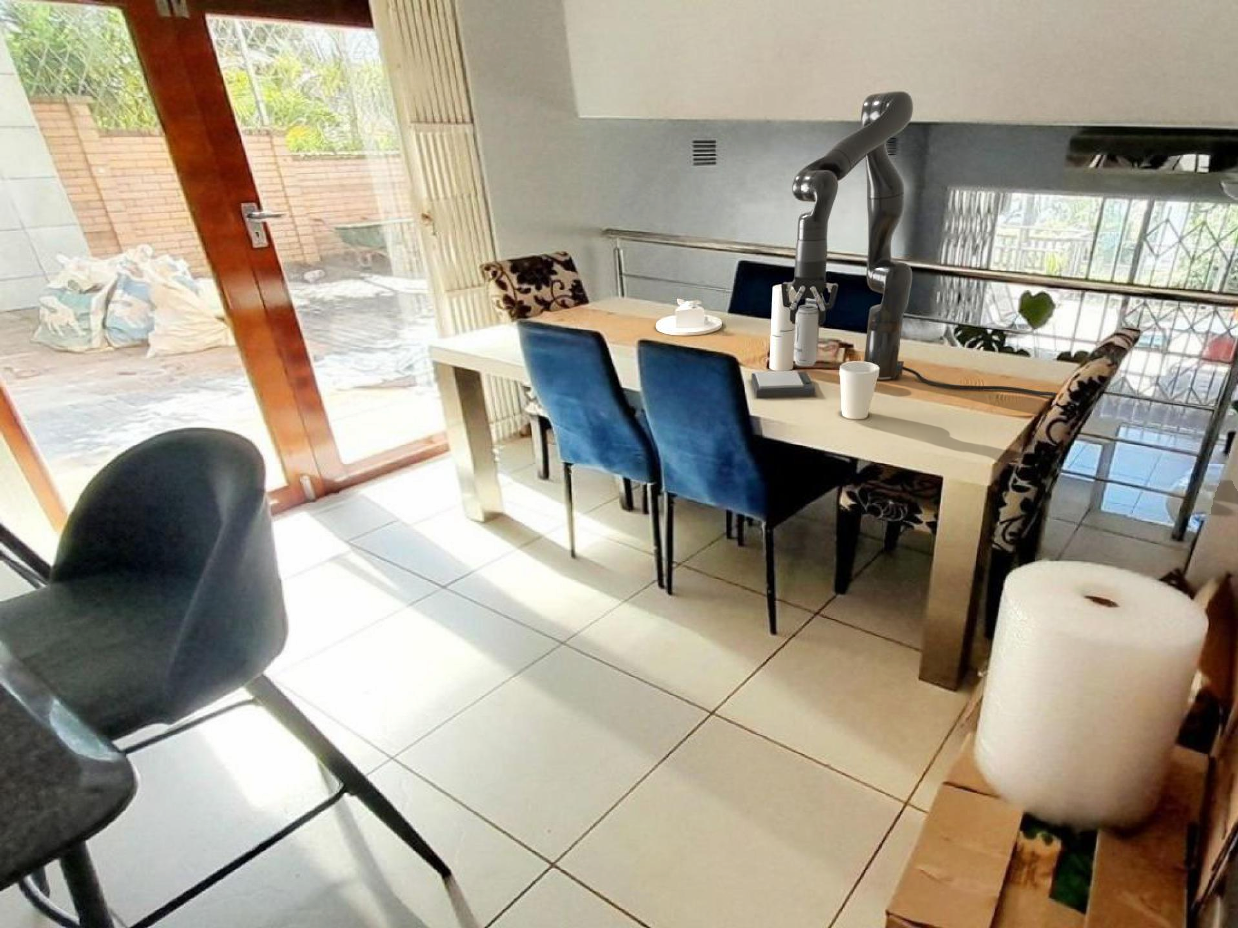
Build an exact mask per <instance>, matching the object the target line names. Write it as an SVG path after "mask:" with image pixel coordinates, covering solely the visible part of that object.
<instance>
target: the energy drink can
mask: <svg viewBox="0 0 1238 928" xmlns="http://www.w3.org/2000/svg"><path fill="white" fill-rule="evenodd" d="M818 308H819V305H815V304H801V305H798V307H797V312H796V317H795V339H794V358H793V362H794V363H795V365H796V366H798V367H799V366H800V367H812V366H814V365H815V364H816V362H817V361H818V351H819V334H820V325H818V323H819V311H820V309H818Z"/></svg>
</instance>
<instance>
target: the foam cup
mask: <svg viewBox="0 0 1238 928" xmlns="http://www.w3.org/2000/svg"><path fill="white" fill-rule="evenodd" d="M878 376H879V367H878V365H876V364H873V363H870V362H864V360H862V361H861V360H854V361H853V360H852V361H846V362H843V363H841V364H840V365H839V381H840V383H839V384H840V403H841V414H842V416H843V417H845V418H847V419H850V420H863V419H865V418H867V417H868V415H869V411H870V408H871V404H872V400H873V396H874V393H875V389H876V385H877V381H878V380H877V378H878Z"/></svg>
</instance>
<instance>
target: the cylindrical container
mask: <svg viewBox="0 0 1238 928" xmlns="http://www.w3.org/2000/svg"><path fill="white" fill-rule="evenodd" d="M781 285H782V284H776V285H773V286H772V297H771V298H772V299H771V300H772V301H771V321H770V322H771V323H770V324H771V325H770V348H769V369H770V370H771V371H792V370H793V369H794V339H795V324H792V322H790V309H789V308H787V307H784V306H783V300H782V290H781ZM796 295H797V293H796V291H795V290H794V288H793V287H791V289H790V291H789V301H790V302H793V300H794V299H795V297H796Z"/></svg>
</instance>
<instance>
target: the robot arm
mask: <svg viewBox="0 0 1238 928" xmlns="http://www.w3.org/2000/svg"><path fill="white" fill-rule="evenodd" d="M913 111H914V103H913V99H912V96H911V95H910V94H909V93H908V92H906V91H903V90H902V91H901V90H897V91H896V90H895V91H887V92H880V93H872V94H870V95H868V96H867V97H866V98H865V99H864V101H863V103H862V106H861V112H860V124H861V128H859V129H857V130H856V131H854V132H852V133H850V134H848V135H846V136H845V137H843V138H842V139H840V140H839V141H838V142H837V143H836V144H835V145H834V146H833V147H831V149H830V150H829V151H827V153H826V154H825V155H823V156H822V157H820V158H817V159H816V160H814V161H813V162H811V163H809V164H807V165H805V166H804V167H803V168H802V169H800V170H799V171H798V172H797V174H796V175H795V177H794V179H793V181H792V184H791V192H792V194H793V196H794V198H795V199H796V200H797V201H800V202H809V203H810V202H811V203H814V204H813V207H812V210H811V211H807V212H803V213H802V214H801V213H800V215H799V216H798V220H797V233H796V235H797V237H796V245H795V256H794V258H795V259H794V278H793V280H792V281H789V282H787V281H784V282H783V283H782V284H780V285H781V290H782V300H783V306H784V307H787V308H789V309H790V322H792V324H795V317H796V312H797V310H798V307H797V306H798V304H799V302H800V300H806V299H809V300H815V302H816V304H817V306H818V308H819V323H818V325H819V326H822V325H823V324H824V323H825V322H826V314H827V310H832V309H833V308H834V307H835V302H836V298H837V294H838V293H837V292H838V288H839V284H838V283H837V282H835V283H830V282H827V278H826V277H827V276H826V274H827V261H828V228H829V219H830V216H831V213H832V209H833V206H834V203H835V200H836V198H837V194H838V189H839V181H841V180H843V179H844V178H845V177H846V176H847V175H848V174H850V172H851V171H852V170H853V169H854V168H856V167H857V165H858V164H859V163H860V162H861V161H863V159H864V158H865V170H866V171H865V172H866V205H867V207H866V208H867V223H868V224H867V225H868V227H867V230H868V232H867V233H868V235H867V239H868V240H867V241H868V242H867V243H868V245H867V246H868V247H867V261H866V282H867V286H868V287H869V289H870V290H871V291H873V292H875V293H879V294H882V299H881V303H880V304H876V305H873V306H871V307H870V309H869V311H868V319H867V320H868V321H867V329H866V339H865V348H864V359H863V361H864V362H870V363H873V364H876V365H878V367H879V376H878V378H877V381H887V380H888V381H889V380H896V377H897V375H900V376H901V375H903V371H905V372H907V373H910V374H913V375H914V376H915V377H916V378H918V380H920V381H921V382H923V383H925V384H928V385H930V386H935V387H942V388H947V389H956V390H997V391H1011V392H1017V393H1019V392H1020V393H1026V394H1031V395H1037V396H1049V397H1055V396H1056V395H1057V394H1059V393H1058V392H1054V391H1040V390H1033V389H1029V388H1023V387H1015V386H1007V385H969V384H968V385H966V384H965V385H962V384H950V383H943V382H936V381H932V380H929V379H928V378H927V379H926V378H925V377H923V376H922V375H921V374H920V373H919V372H917V370H914V369H912V368H909V367H906V366H904V365H905V364H904V363H905V361H904V360H899V356H900V350H901V349H900V347H901V336H902V328H903V320H904V314H905V312H906V311H907V308H908V305H909V301H910V300H909V298H910V293H911V288H912V282H913V271H912V268H911V266H910V265H909V264H908V263H906V262H903V261H898V260H894V259H892V240H893V235H894V233H895V231H896V230H897V228H898V227H899V224H900V222H901V220H902V218H903V215H904V211H905V185H904V180H903V178H902V176H901V174H900V172H899V171H898V169H897V167H896V165H895V164H894V163H893V161H892V160H891V158H890V155H889V153H888V150H887V145H886V142H887V141H888V140H890V139H891V138H892V137H895V136H896V135H897V134H899V133H901V131H903V130H904V129H905V128H906V127H907V126H908V125H909V123H910V122H911V119H912V117H913ZM791 287H793V288H794V290H795V291H796V293H797V295H796V297H795V299H794V300H793V302H790V301H789V291H790V289H791ZM826 288H827V292H828V293H830V294H829V299H828V302H827V303H826V301H825V298H824V296H823V295H824V294H823V292H824V290H825V289H826Z"/></svg>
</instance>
